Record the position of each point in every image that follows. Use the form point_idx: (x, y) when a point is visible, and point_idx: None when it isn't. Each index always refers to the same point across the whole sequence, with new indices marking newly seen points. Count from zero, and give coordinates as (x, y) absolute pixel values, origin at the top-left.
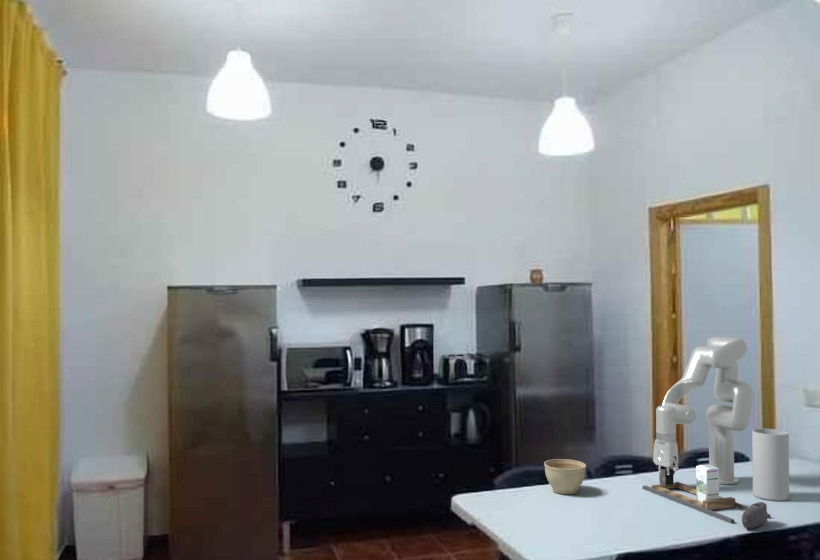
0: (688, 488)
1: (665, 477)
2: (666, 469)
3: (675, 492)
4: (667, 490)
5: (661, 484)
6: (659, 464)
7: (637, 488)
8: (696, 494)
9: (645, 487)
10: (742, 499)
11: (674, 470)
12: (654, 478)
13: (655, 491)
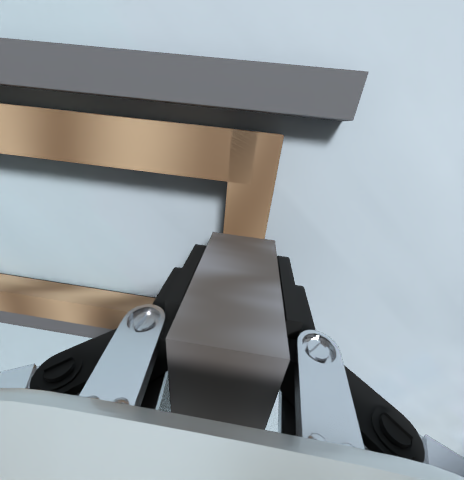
0: (120, 307)
1: (194, 277)
2: (214, 390)
3: (16, 151)
4: (82, 135)
5: (254, 237)
6: (260, 452)
7: (403, 27)
8: (71, 285)
9: (317, 69)
10: (13, 363)
11: (5, 379)
12: (443, 359)
13: (160, 55)
